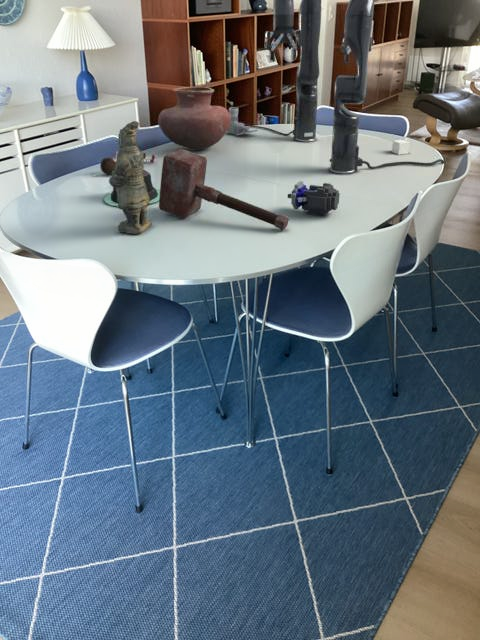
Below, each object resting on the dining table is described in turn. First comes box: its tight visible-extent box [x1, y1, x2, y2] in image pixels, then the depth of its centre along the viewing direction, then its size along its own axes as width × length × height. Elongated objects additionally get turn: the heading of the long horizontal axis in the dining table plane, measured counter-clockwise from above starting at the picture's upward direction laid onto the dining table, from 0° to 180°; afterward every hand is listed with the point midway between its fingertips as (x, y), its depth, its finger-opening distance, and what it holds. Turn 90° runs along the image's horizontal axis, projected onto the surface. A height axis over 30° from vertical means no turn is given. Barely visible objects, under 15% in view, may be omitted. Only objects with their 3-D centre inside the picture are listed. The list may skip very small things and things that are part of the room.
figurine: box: [100, 149, 156, 176], centre depth 217 cm, size 13×8×25 cm
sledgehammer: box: [158, 148, 290, 231], centre depth 163 cm, size 17×10×40 cm
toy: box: [287, 180, 341, 216], centre depth 168 cm, size 9×9×15 cm
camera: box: [226, 106, 259, 136], centre depth 264 cm, size 9×12×15 cm
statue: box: [108, 120, 153, 235], centre depth 154 cm, size 11×9×30 cm
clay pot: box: [157, 86, 231, 151], centre depth 238 cm, size 30×30×25 cm
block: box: [391, 139, 410, 156], centre depth 231 cm, size 5×5×5 cm
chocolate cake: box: [103, 168, 160, 207], centre depth 186 cm, size 15×19×20 cm
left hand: (355, 62), depth 255 cm, fingers open, 8 cm apart
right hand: (282, 60), depth 214 cm, fingers open, 8 cm apart
